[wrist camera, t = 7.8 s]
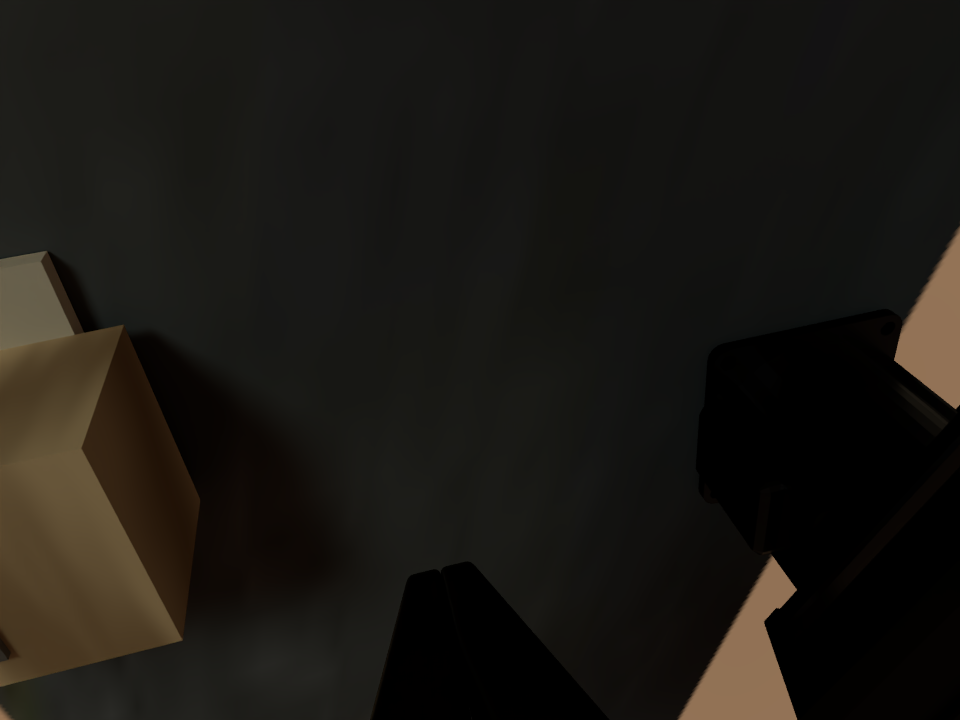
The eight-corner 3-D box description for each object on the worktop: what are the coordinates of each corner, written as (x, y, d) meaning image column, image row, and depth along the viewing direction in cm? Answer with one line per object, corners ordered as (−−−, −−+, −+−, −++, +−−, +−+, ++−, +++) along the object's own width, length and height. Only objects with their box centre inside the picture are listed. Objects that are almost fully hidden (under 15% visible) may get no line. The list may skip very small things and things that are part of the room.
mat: (47, 250, 19) (41, 261, 18) (179, 543, 24) (177, 557, 24) (-178, 290, 18) (-192, 303, 17) (10, 581, 23) (4, 597, 23)
